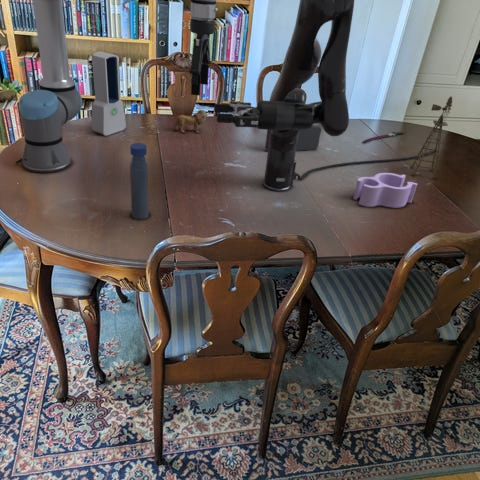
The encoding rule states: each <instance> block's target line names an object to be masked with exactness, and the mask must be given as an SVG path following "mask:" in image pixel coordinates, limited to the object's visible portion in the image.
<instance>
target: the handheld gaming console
mask: <svg viewBox="0 0 480 480" xmlns="http://www.w3.org/2000/svg"><path fill="white" fill-rule="evenodd" d="M270 132H271V130H266V139H265V145H264V146H265V150H267V151H268V147H269V139H270ZM321 133H322V127H321V126H319V125H318V124H313V126H312V127H311V128H310V129H308V130H300V131H299V135H298V141H297V147H296V151H312V150H317V148H318V147H319V144H320V137H321Z"/></svg>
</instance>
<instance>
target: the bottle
mask: <svg viewBox="0 0 480 480" xmlns="http://www.w3.org/2000/svg"><path fill="white" fill-rule="evenodd" d="M147 162H148V161H147V159H146V157H145V156H140V157H138V156H133V155H132V158H131V161H130V164H129V174H130V175H129V176H130V179H129V180H130V181H129V182H130V199H131V200H130V201H131V202H130V203H131V206H130V207H131V217H132V218H134V219H135V220H144V219H147V218H148V217H149V216H150V213H149V211H150V210H149V208H150V207H149V166H148V165H149V164H148V163H147Z"/></svg>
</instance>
